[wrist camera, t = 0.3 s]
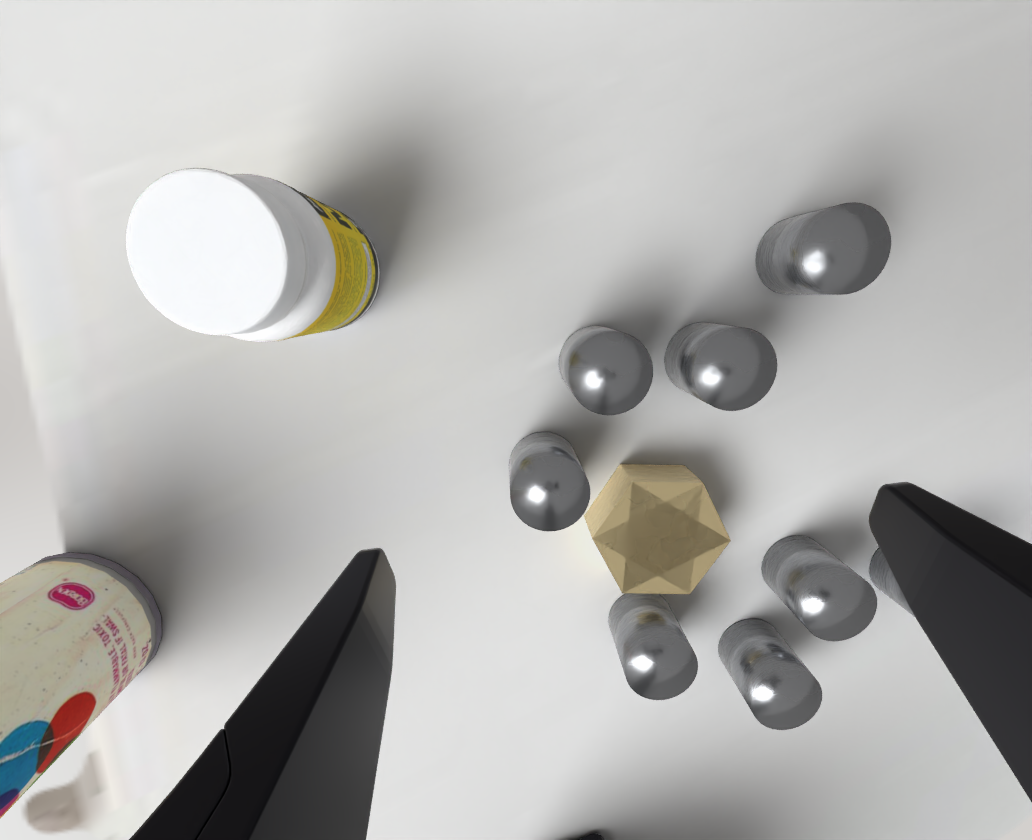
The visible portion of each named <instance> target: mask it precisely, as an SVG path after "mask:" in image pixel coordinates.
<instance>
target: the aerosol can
mask: <svg viewBox="0 0 1032 840" xmlns="http://www.w3.org/2000/svg"><path fill="white" fill-rule="evenodd" d="M161 638H162V624H161V614H160V612H159V609H158V607H157V605H156V602H155V600H154V597H153V595H152V594H151V593H150V592H149V590H148V589H147V588H146V587H145V586H144V584H143V583H142V582H141V581H140V580H139V578H138V577H136V576H135V575H133V574H132V573H131V572H129V571H128V570H126V569H125V568H123V567H122V566H120V565H119V564H118V563H115V562H112V561H110V560H107V559H104V558H101V557H99V556H96V555H93V554H81V553H70V552H68V553H63V554H58V555H53V556H49V557H45V558H43V559H41V560H40V561H38V562H36V563H35V564H33V565H31V566H29V567H28V568H26V569H24V570H22V571H21V572H19V573H17V574H16V575H14V576H12V577H10V578H9V579H7V580H5V581H3V582H2V583H0V818H1V817H2V816H3V815H4V814H5V813H6V812H7V811H8V810H9V809H10V808H11V807H12V805H13V804H14V803H15V802H16V801H17V800H18V799H19V798H20V797H21V796H22V795H23V794H24V793H25V792H26V790H28V789H29V788H30V787H31V786H32V785H33V783H34V782H35V781H36V780H37V779H38V778H39V777H40V776H41V775H42V774H43V773H44V772H45V771H46V770H47V769H48V768H49V767H50V766H51V765H52V763H54V762H55V761H56V759H57V758H58V757H59V756H60V755H61V754H62V753H63V752H64V751H65V750H66V749H67V748H68V747H69V746H70V745H71V744H72V743H73V742H74V741H75V740H76V739H77V738H78V736H79V735H80V734H81V733H82V732H83V731H84V730H85V729H86V728H87V727H88V726H89V725H90V724H91V723H92V722H93V721H94V720H95V719H96V718H97V717H98V716H99V715H100V713H101V712H102V711H103V710H104V709H105V708H106V707H107V706H108V705H109V704H110V703H111V702H112V701H113V700H114V699H115V698H116V697H117V696H118V695H119V694H120V693H121V691H122V690H123V689H124V688H125V687H126V686H127V685H128V684H129V683H130V682H131V681H132V680H133V679H134V678H135V676H136V675H138V674H139V673H140V672H141V671H142V670H143V668H144V667H145V666H146V665H147V664H148V663H149V662H150V660H151V659H152V658H153V657H154V656H155V655H156V652H157V649H158V646H159V643H160V641H161Z"/></svg>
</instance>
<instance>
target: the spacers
mask: <svg viewBox="0 0 1032 840" xmlns="http://www.w3.org/2000/svg"><path fill="white" fill-rule="evenodd" d="M890 248H891V236H890V231H889V227H888V225H887V223H886V221H885V219H884V218H883V216H882V215H881V214H880V213H879V212H878V211H877V210H876V209H874V208H872V207H871V206H868V205H866V204H862V203H845V204H840V205H837V206H833V207H829V208H825V209H821V210H818V211H814V212H810V213H806V214H803V215H799V216H795V217H791V218H788V219H784V220H782V221H780V222H778V223H776V224H775V225H773V226H772V227H771V228H770V229H769V230H768V231H767V232H766V233H765V235H764V236H763V238H762V239H761V241H760V243H759V246H758V249H757V253H756V268H757V272H758V275H759V277H760V279H761V280H762V282H763V283H764V284H765V285H766V286H767V287H768V288H769V289H771V290H773V291H775V292H777V293H781V294H850V293H854V292H857V291H859V290H861V289H863V288H865V287H866V286H868V285H869V284H870V283H872V282H873V281H874V280H875V279H876V278H877V277H878V275H879V274H880V273H881V271H882V270H883V268H884V266H885V264H886V262H887V260H888V257H889V253H890ZM559 369H560V373H561V376H562V378H563V380H564V382H565V383H566V385H567V386H568V387H569V389H570V390H571V391H572V393H573V394H574V396H575V397H576V398H577V400H578V401H579V402H580V403H581V404H582V405H583V406H584V407H586V408H587V409H589V410H590V411H592V412H595V413H598V414H602V415H616V414H621V413H624V412H626V411H628V410H630V409H632V408H634V407H635V406H636V405H637V404H639V403H640V402H641V401H642V399H643V398H644V397H645V396H646V394H647V392H648V390H649V388H650V386H651V382H652V377H653V365H652V361H651V357H650V355H649V353H648V351H647V349H646V348H645V347H644V345H643V344H642V343H641V342H640V341H638V340H637V339H636V338H634V337H632V336H631V335H628V334H626V333H623V332H619V331H616V330H613V329H610V328H607V327H603V326H588V327H585V328H582V329H580V330H578V331H576V332H575V333H573V334H572V335H571V336H570V337H569V338H568V339H567V340H566V342H565V343H564V345H563V347H562V349H561V352H560V356H559ZM665 369H666V372H667V375H668V377H669V378H670V380H671V381H672V383H673V384H675V385H676V386H677V387H678V388H680V389H681V390H683V391H685V392H687V393H689V394H691V395H693V396H695V397H696V398H698V399H700V400H702V401H704V402H706V403H708V404H710V405H712V406H713V407H715V408H718V409H721V410H726V411H736V410H742V409H745V408H748V407H750V406H752V405H754V404H756V403H757V402H758V401H760V400H761V399H762V398H763V397H764V396H765V395H766V394H767V392H768V391H769V390H770V388H771V386H772V384H773V382H774V380H775V377H776V372H777V358H776V354H775V351H774V349H773V347H772V345H771V343H770V342H769V341H768V340H767V338H766V337H764V336H763V335H762V334H760V333H759V332H757V331H755V330H752V329H748V328H742V327H735V326H728V325H721V324H714V323H706V322H699V323H694V324H691V325H688V326H686V327H684V328H683V329H681V330H680V331H679V332H677V333H676V334H675V335H674V337H673V338H672V339H671V341H670V342H669V344H668V347H667V349H666V353H665ZM509 474H510V497H511V503H512V506H513V509H514V511H515V513H516V514H517V516H518V517H519V518H520V519H521V520H522V521H523V522H524V523H525V524H527V525H528V526H530V527H532V528H534V529H537V530H542V531H557V530H561V529H564V528H567V527H569V526H570V525H572V524H574V523H575V522H576V521H577V520H578V519H579V518H580V517H581V516H582V515H583V514H584V512H585V510H586V508H587V506H588V503H589V499H590V486H589V482H588V479H587V477H586V475H585V473H584V471H583V469H582V466H581V464H580V462H579V460H578V458H577V456H576V453H575V451H574V449H573V448H572V446H571V445H570V443H569V442H568V441H567V440H565V439H564V438H563V437H561V436H559V435H557V434H554V433H550V432H538V433H534V434H531V435H528V436H526V437H525V438H523V439H522V440H521V441H520V442H519V443H518V444H517V445H516V446H515V448H514V449H513V451H512V453H511V456H510V460H509ZM762 575H763V578H764V580H765V582H766V584H767V585H768V586H769V587H770V588H771V589H772V590H773V591H774V593H775V594H776V595H777V596H778V597H779V598H780V599H781V600H782V601H783V602H784V603H785V605H786V606H787V607H788V608H789V609H790V610H791V611H792V612H793V613H794V614H795V615H796V617H797V618H798V619H799V620H800V621H801V622H802V623H803V624H804V625H805V626H806V627H807V629H808V630H809V631H810V632H811V633H812V634H813V635H815V636H816V637H818V638H820V639H823V640H827V641H841V640H846V639H849V638H851V637H854V636H856V635H857V634H859V633H860V632H862V631H863V630H864V629H865V628H866V627H867V626H868V625H869V624H870V622H871V621H872V619H873V617H874V615H875V612H876V609H877V597H876V594H875V591H874V589H873V588H872V586H871V585H870V584H869V583H868V582H867V581H865V580H864V579H863V578H862V577H860V576H859V575H858V574H857V573H855V572H854V571H853V570H851V569H850V568H849V567H848V566H846V565H845V564H844V563H843V562H841V561H840V560H839V559H838V558H836V557H835V556H834V555H832V554H831V553H830V552H829V551H827V550H826V549H825V548H824V547H822V546H821V545H820V544H818V543H817V542H816V541H814V540H813V539H811V538H808V537H805V536H790V537H787V538H784V539H782V540H780V541H778V542H777V543H775V544H774V545H773V546H772V547H771V548H770V549H769V550H768V551H767V553H766V555H765V557H764V559H763V562H762ZM870 577H871V580H872V582H873V583H874V585H875V586H876V587H877V588H879V589H880V590H881V591H882V592H884V593H885V594H886V595H887V596H889V597H890V598H891V599H893V600H894V601H895V602H896V603H898V604H899V605H900V606H902V607H903V608H904V609H905V610H907V611H908V612H909V613H911V614H912V615H913V616H914V617H915V615H914V614H913V612H912V610H911V609H910V607H909V605H908V603H907V601H906V600H905V598H904V596H903V594H902V592H901V590H900V588H899V586H898V584H897V582H896V580H895V578H894V576H893V574H892V572H891V569H890V567H889V565H888V563H887V561H886V559H885V557H884V555H883V553H882V551H881V549H880V548H879V549H878V550H877V551H876V553H875V554H874V556H873V558H872V560H871V563H870ZM609 627H610V630H611V633H612V636H613V639H614V642H615V645H616V648H617V651H618V654H619V658H620V661H621V664H622V667H623V670H624V673H625V676H626V679H627V682H628V684H629V685H630V687H631V688H632V689H633V690H634V691H635V692H636V693H637V694H639V695H640V696H642V697H645V698H648V699H652V700H665V699H669V698H673V697H675V696H677V695H679V694H681V693H682V692H684V691H685V690H686V689H687V688H688V687H689V686H690V685H691V684H692V682H693V681H694V679H695V677H696V674H697V670H698V662H697V658H696V655H695V653H694V651H693V649H692V647H691V645H690V644H689V642H688V640H687V638H686V636H685V634H684V632H683V631H682V629H681V627H680V625H679V623H678V621H677V619H676V618H675V616H674V614H673V612H672V610H671V608H670V606H669V605H668V603H667V601H666V600H665V599H664V598H663V597H662V596H660V595H659V594H644V593H627V594H625V595H623V596H622V597H620V598H619V599H618V600H617V601H616V602H615V603H614V605H613V606H612V608H611V610H610V613H609ZM718 652H719V657H720V659H721V661H722V662H723V664H724V666H725V667H726V669H727V671H728V672H729V674H730V676H731V677H732V679H733V681H734V682H735V684H736V686H737V687H738V689H739V691H740V692H741V694H742V696H743V697H744V699H745V701H746V702H747V704H748V706H749V707H750V709H751V711H752V712H753V714H754V716H755V717H756V719H757V720H758V721H759V722H760V723H761V724H763V725H764V726H766V727H769V728H772V729H777V730H787V729H792V728H796V727H798V726H800V725H802V724H804V723H806V722H807V721H809V720H810V719H811V718H812V717H813V716H814V715H815V713H816V712H817V711H818V709H819V707H820V704H821V701H822V690H821V687H820V684H819V683H818V681H817V680H816V679H815V677H814V676H813V675H812V674H811V672H810V671H809V670H808V669H807V668H806V666H805V665H804V664H803V663H802V661H801V660H800V659H799V658H798V657H797V655H796V654H795V653H794V652H793V650H792V649H791V648H790V647H789V646H788V644H787V643H786V642H785V641H784V639H783V638H782V637H781V636H780V634H779V633H778V632H777V631H776V630H775V628H774V627H773V626H772V625H771V624H769V623H767V622H765V621H763V620H759V619H746V620H742V621H739V622H737V623H735V624H733V625H732V626H730V627H729V628H728V629H727V630H726V631H725V632H724V634H723V635H722V637H721V639H720V642H719V646H718Z"/></svg>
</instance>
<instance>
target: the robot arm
mask: <svg viewBox="0 0 1032 840" xmlns="http://www.w3.org/2000/svg"><path fill="white" fill-rule="evenodd" d="M869 525H870V528H871V531H872V533H873V535H874V537H875V539H876V541H877V543H878V545H879V547H880V549H881V551H882V553H883V555H884V557H885V559H886V561H887V563H888V565H889V567H890V569H891V572H892V574H893V576H894V578H895V580H896V582H897V584H898V586H899V588H900V590H901V592H902V594H903V596H904V598H905V600H906V601H907V603H908V605H909V607H910V609H911V610H912V612H913V614H914V615H915V617H916V619H917V620H918V622H919V624H920V625H921V627H922V628H923V630H924V632H925V633H926V635H927V636H928V638H929V640H930V641H931V643H932V644H933V646H934V648H935V649H936V651H937V652H938V654H939V655H940V657H941V659H942V660H943V662H944V663H945V665H946V667H947V668H948V670H949V671H950V673H951V675H952V676H953V678H954V679H955V681H956V683H957V684H958V686H959V687H960V689H961V690H962V692H963V694H964V695H965V697H966V698H967V700H968V702H969V703H970V705H971V706H972V708H973V710H974V711H975V713H976V714H977V716H978V717H979V719H980V721H981V722H982V724H983V725H984V727H985V729H986V730H987V732H988V733H989V735H990V737H991V738H992V740H993V741H994V743H995V745H996V746H997V748H998V749H999V751H1000V752H1001V754H1002V756H1003V757H1004V759H1005V760H1006V762H1007V764H1008V765H1009V767H1010V768H1011V770H1012V772H1013V773H1014V775H1015V776H1016V778H1017V779H1018V781H1019V783H1020V784H1021V786H1022V787H1023V789H1024V791H1025V792H1026V794H1027V795H1028V797H1029V799H1030V800H1031V802H1032V544H1030V543H1028V542H1026V541H1024V540H1022V539H1020V538H1018V537H1017V536H1015V535H1013V534H1011V533H1009V532H1007V531H1005V530H1003V529H1001V528H999V527H997V526H995V525H993V524H991V523H989V522H987V521H985V520H983V519H981V518H979V517H977V516H975V515H973V514H971V513H969V512H967V511H965V510H963V509H961V508H959V507H957V506H955V505H953V504H951V503H949V502H948V501H946V500H944V499H942V498H940V497H938V496H936V495H934V494H932V493H930V492H928V491H926V490H924V489H922V488H920V487H918V486H916V485H914V484H912V483H908V482H900V483H892V484H886V485H883V486H882V487H881V488H880V489H879V491H878V494H877V496H876V499H875V502H874V504H873V507H872V510H871V512H870V515H869ZM395 595H396V582H395V576H394V574H393V571H392V569H391V567H390V564H389V562H388V560H387V557H386V555H385V553H384V551H383V550H382V549H381V548H374V549H366V550H361V551H359V552H358V553H357V554H356V555H355V556H354V558H353V559H352V560H351V562H350V563H349V564H348V566H347V567H346V568H345V569H344V571H343V572H342V573H341V575H340V576H339V577H338V578H337V580H336V581H335V582H334V584H333V585H332V586H331V588H330V589H329V590H328V591H327V593H326V594H325V595H324V597H323V598H322V599H321V600H320V602H319V603H318V604H317V606H316V607H315V608H314V609H313V611H312V612H311V613H310V615H309V616H308V617H307V619H306V620H305V621H304V622H303V624H302V625H301V626H300V628H299V629H298V630H297V631H296V633H295V634H294V635H293V637H292V638H291V639H290V641H289V642H288V643H287V644H286V646H285V647H284V648H283V650H282V651H281V652H280V653H279V655H278V656H277V657H276V659H275V660H274V661H273V663H272V664H271V665H270V666H269V668H268V669H267V670H266V672H265V673H264V674H263V675H262V677H261V678H260V679H259V681H258V682H257V683H256V685H255V686H254V687H253V688H252V690H251V691H250V692H249V694H248V695H247V696H246V697H245V699H244V700H243V701H242V703H241V704H240V705H239V707H238V708H237V709H236V710H235V712H234V713H233V714H232V716H231V717H230V718H229V719H228V721H227V722H226V723H225V725H224V729H221V730H220V731H219V732H218V733H217V735H216V736H215V737H214V739H213V740H212V741H211V742H210V744H209V745H208V746H207V748H206V749H205V750H204V752H203V753H202V754H201V755H200V757H199V758H198V759H197V760H196V761H195V763H194V764H193V765H192V766H191V768H190V769H189V770H188V771H187V773H186V774H185V775H184V776H183V778H182V779H181V780H180V781H179V783H178V784H177V785H176V786H175V788H174V789H173V790H172V791H171V792H170V793H169V795H168V796H167V797H166V798H165V799H164V800H163V801H162V803H161V804H160V805H159V806H158V807H157V808H156V810H155V811H154V812H153V813H152V814H151V815H150V817H149V818H148V819H147V820H146V821H145V822H144V824H143V825H142V826H141V827H140V828H139V829H138V830H137V831H136V833H135V834H134V835H133V836H132V837H131V838H130V839H129V840H366V835H367V829H368V822H369V816H370V810H371V803H372V797H373V790H374V784H375V777H376V771H377V764H378V758H379V751H380V745H381V739H382V732H383V726H384V719H385V713H386V706H387V700H388V693H389V687H390V680H391V673H392V662H393V643H394V619H395ZM580 840H605V839H604V838H603V837H602V836H601V835H599V834H591V835H589V836H586V837H584V838H582V839H580Z"/></svg>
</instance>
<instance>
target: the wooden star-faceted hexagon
mask: <svg viewBox="0 0 1032 840" xmlns="http://www.w3.org/2000/svg"><path fill="white" fill-rule="evenodd" d="M584 517H585V520H586V523H587V525H588V528H589V531H590V533H591V536H592V539H593V540H594V542H595V544H596V546H597V548H598V550H599V551H600V553H601V555H602V557H603V559H604V561H605V562H606V564H607V566H608V568H609V570H610V571H611V573H612V575H613V577H614V579H615V581H616V582H617V584H618V586H619V588H620V590H621V592H622V593H644V594H690V593H691V592H692V591H693V589H694V588H695V587H696V585H697V584H698V583H699V582H700V580H701V579H702V578H703V576H704V575H705V574H706V572H707V571H708V570H709V568H710V567H711V566H712V564H713V563H714V562H715V561H716V559H717V558H718V557H719V555H720V554H721V553H722V551H723V550H724V549H725V547H726V546H727V545H728V544H729V542H730V541H731V540H730V538H729V536H728V534H727V532H726V530H725V528H724V525H723V523H722V521H721V519H720V517H719V515H718V513H717V511H716V509H715V507H714V505H713V502H712V500H711V498H710V496H709V494H708V492H707V490H706V488H705V486H704V484H703V482H702V481H701V480H699V479H698V478H697V477H696V476H695V475H694V474H693V473H692V472H691V471H690V470H689V469H688V468H687V467H686V466H685V465H644V464H620V465H619V466H618V468H617V469H616V471H615V472H614V473H613V475H612V476H611V478H610V479H609V481H608V482H607V484H606V485H605V486H604V488H603V489H602V491H601V492H600V494H599V495H598V497H597V498H596V500H595V501H594V502H593V504H592V505H591V507H590V508H589V510H588V511H587V513H586V514H585V515H584Z"/></svg>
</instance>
